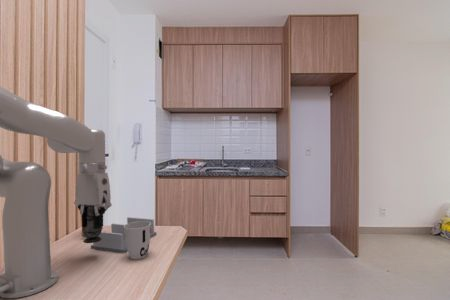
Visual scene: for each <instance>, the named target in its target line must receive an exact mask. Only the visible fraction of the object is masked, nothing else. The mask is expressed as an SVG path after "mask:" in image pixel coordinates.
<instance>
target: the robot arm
mask: <svg viewBox="0 0 450 300" xmlns="http://www.w3.org/2000/svg"><path fill="white" fill-rule="evenodd" d="M0 128H1V129H4V130H6V131H8V132H9V131H10V132H14V133H17V134H24V135H31V136H37V137H40V138H41V137H42V138H45V139H46V143H47V145H48V147H49V149H51V150H52V151H54V152H56V153H61V154H78V173H77V176H76V177H77V178H76V185H75V200H74V201H73V204H74V205H75V206H76V207H77V209H78V210H79V214H80V216H81V215H82V223H81V228H82V227H87V218H86V217H87V216H88V210H87V208H88V206H94V209H95V215H96V216H94V229H97V228H100V227H103V226H104V214H106V211H107V210H108V209H109V208H111V207H112V206H113V205H112V203H111V185H110V179H109V175H108V172H106V170H107V169H108V166H107V165H106V133H105V131H103V130H102V129H94V128H93V129H92V128H91V129H90V128H89V127H88V126H86V125H85V124H83V123H81V122H80V121H78V120H76V119H74V118H73V117H71V116H68V115H67V114H64V113H62V112H59V111H56V110H53V109H51V108H48V107H45V106H43V105H40V104H37V103H34V102H31V101H29V100H26V99H25V98H24V97H23V98H22V97H21V96H18V95H17V94H16V93H13V92H12V91H10V90H8V89H6V88H3V86H0ZM51 187H52V178H51V175H50V172H49V171H48V170H47V169H46V167H44V166H43V165H41V164H39V163H36V162H32V161H10V160H8V159H5V158H3V156H2V155H1V154H0V198H5V199H4V204H3V209H2V214H1V215H2V218H1V220H2V223H1V224H2V227H1V228H2V240H3V242H2V243H3V256H4V257H3V259H4V260H3V261H4V273H2V274H0V298H3V299H18V298H24V297H27V296H31V295H34V294H38V293H40V292H42V291H44V290H46V289H49V288H50V287H51V286H53V285H54V284H56V283H57V281H58V280H59V273H58V272H57V271H56V270H54V269H52V265H51V261H52V260H51V259H52V258H51V241H50V239H51V238H50V221H49V220H50V217H49V204H50V203H49V202H50V194H51ZM85 206H86V207H85ZM99 207H100V209H99ZM103 228H104V227H103Z"/></svg>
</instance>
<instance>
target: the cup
mask: <svg viewBox="0 0 450 300" xmlns="http://www.w3.org/2000/svg"><path fill="white" fill-rule="evenodd" d="M124 233H125V241H126V246H127V250H128V251H127V253H128V255H129V258H130V259H131V260H141V259H145V258H146V257H147V256H148V253H149V249H150V243H151V238H150V233H151V223H150V222H147V221H138V222H132V223H128V224H127V223H126V224H124Z"/></svg>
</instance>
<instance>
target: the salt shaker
mask: <svg viewBox="0 0 450 300" xmlns="http://www.w3.org/2000/svg"><path fill="white" fill-rule="evenodd" d="M87 210H88V216H87V217H86V218H87V227H86V228H84V229H83V230H82V229H81V232H82V231H83V234H84V236H83V237H84V238H85V239H84V240H83V241H82V242H83V243H85V244H93V243H94V242H98V241H101V240H102V238H100V237H97V236H99V235H100V234H101V232H103V228H104V227H100V228H97V229H94V216H96V215H95V209H94V206H88V208H87Z"/></svg>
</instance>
